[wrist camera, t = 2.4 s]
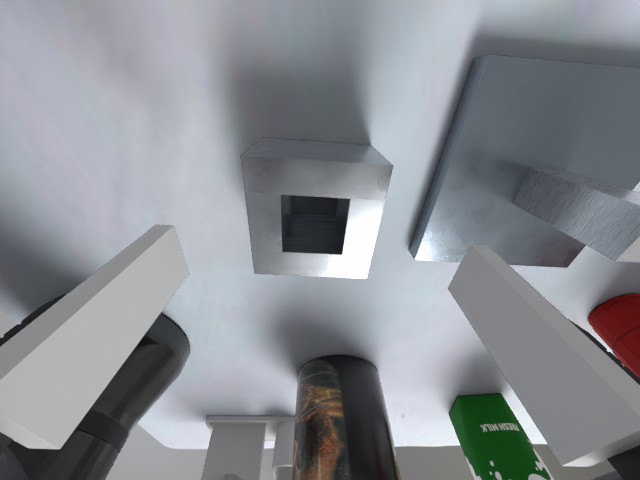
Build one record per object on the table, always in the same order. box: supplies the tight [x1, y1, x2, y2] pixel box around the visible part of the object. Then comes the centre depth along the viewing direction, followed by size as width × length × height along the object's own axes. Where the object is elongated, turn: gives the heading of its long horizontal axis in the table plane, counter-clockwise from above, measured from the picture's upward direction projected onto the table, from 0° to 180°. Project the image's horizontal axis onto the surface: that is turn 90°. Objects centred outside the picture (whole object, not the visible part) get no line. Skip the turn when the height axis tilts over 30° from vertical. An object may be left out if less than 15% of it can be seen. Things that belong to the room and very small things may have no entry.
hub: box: [241, 138, 393, 279], centre depth 16 cm, size 8×8×6 cm
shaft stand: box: [409, 55, 640, 268], centre depth 14 cm, size 14×14×8 cm
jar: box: [292, 355, 401, 480], centre depth 27 cm, size 12×12×15 cm
